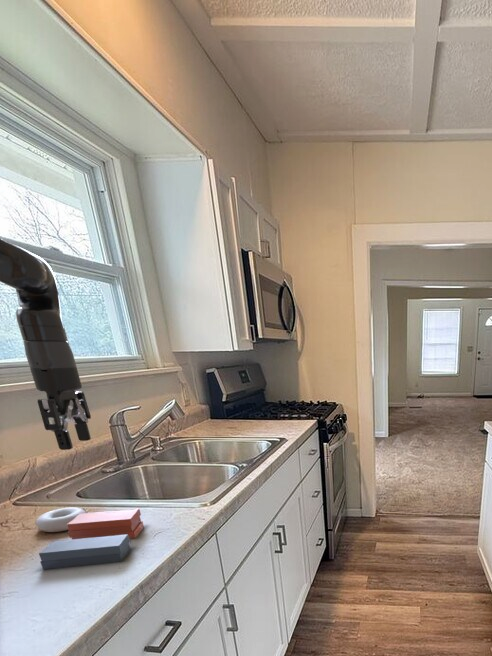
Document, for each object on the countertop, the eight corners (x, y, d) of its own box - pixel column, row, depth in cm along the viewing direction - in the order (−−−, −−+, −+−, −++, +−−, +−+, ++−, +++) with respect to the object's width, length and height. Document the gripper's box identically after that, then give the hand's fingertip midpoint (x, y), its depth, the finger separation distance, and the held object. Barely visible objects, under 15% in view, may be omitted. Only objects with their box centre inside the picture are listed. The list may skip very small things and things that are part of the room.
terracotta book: (69, 530, 88) (67, 524, 87) (82, 519, 93) (80, 513, 93) (132, 525, 90) (130, 518, 90) (141, 514, 96) (139, 508, 95)
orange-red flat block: (72, 544, 89) (67, 531, 87) (84, 532, 94) (80, 520, 93) (135, 538, 91) (132, 525, 90) (144, 527, 97) (141, 514, 96)
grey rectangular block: (42, 569, 79) (36, 553, 77) (56, 556, 84) (51, 541, 82) (123, 561, 82) (118, 545, 80) (132, 549, 87) (128, 534, 85)
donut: (27, 533, 94) (63, 535, 92) (22, 520, 93) (58, 522, 91) (65, 516, 103) (99, 518, 102) (61, 504, 102) (95, 506, 100)
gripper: (50, 364, 86) (72, 438, 93) (9, 367, 74) (38, 453, 80) (89, 364, 88) (108, 437, 94) (56, 367, 75) (80, 451, 81)
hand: (76, 444), depth 87 cm, fingers open, 8 cm apart
